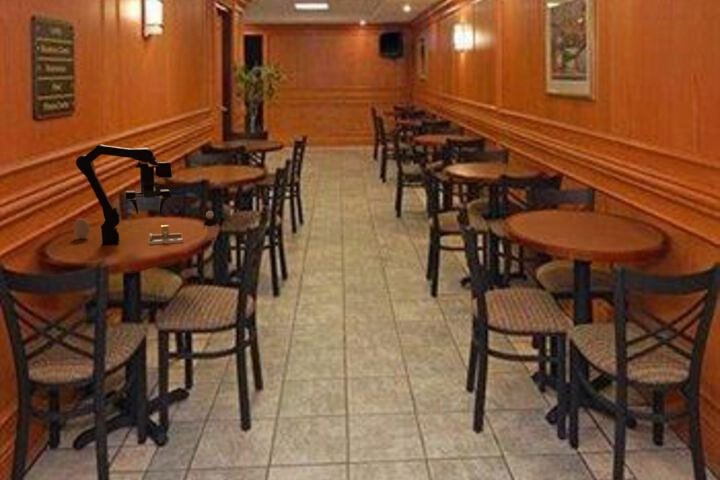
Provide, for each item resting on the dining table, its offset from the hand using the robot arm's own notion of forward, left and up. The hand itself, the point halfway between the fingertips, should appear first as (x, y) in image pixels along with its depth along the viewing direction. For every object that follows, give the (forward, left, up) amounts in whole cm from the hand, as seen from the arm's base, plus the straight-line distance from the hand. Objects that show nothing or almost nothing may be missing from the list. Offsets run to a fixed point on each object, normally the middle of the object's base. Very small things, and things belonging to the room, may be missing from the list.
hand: (148, 214), depth 328 cm
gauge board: (+6, -1, -12) cm, 14 cm away
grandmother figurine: (+25, -4, -12) cm, 28 cm away
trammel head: (+6, -2, -10) cm, 12 cm away
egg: (-29, +14, -12) cm, 35 cm away
